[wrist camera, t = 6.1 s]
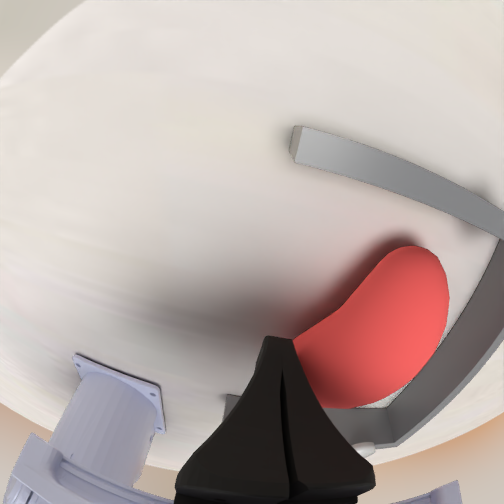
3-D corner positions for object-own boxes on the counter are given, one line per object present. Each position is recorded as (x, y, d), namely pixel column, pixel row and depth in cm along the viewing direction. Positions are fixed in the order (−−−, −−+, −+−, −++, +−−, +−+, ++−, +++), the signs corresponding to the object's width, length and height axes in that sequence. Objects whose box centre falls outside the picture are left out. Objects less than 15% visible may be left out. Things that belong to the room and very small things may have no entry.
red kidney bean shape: (425, 300, 14) (492, 313, 8) (320, 405, 14) (343, 470, 8) (375, 238, 14) (434, 220, 8) (261, 350, 14) (255, 403, 8)
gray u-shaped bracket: (385, 417, 18) (393, 455, 14) (224, 405, 18) (216, 451, 14) (519, 210, 9) (564, 240, 6) (298, 109, 9) (311, 99, 5)
